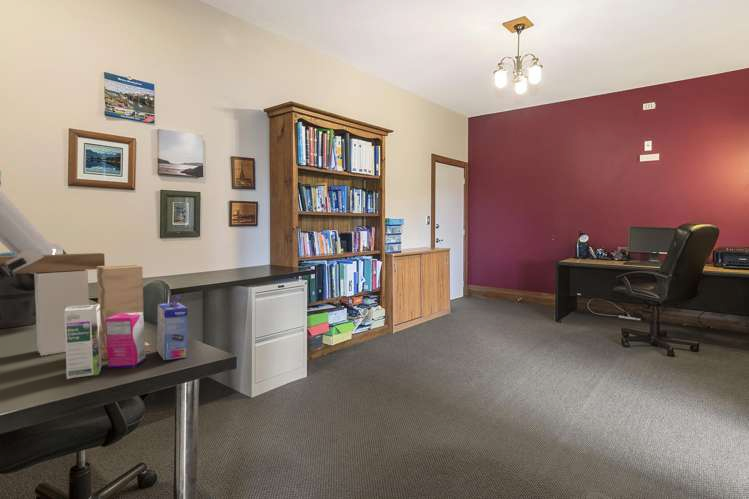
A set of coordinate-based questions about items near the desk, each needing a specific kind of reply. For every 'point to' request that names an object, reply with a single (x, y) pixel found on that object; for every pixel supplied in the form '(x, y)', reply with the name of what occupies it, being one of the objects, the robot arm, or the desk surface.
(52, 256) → the rail
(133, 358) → the supplement box
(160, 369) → the desk surface
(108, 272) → the stand
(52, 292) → the pedestal
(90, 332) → the syrup box
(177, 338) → the ink cartridge box
